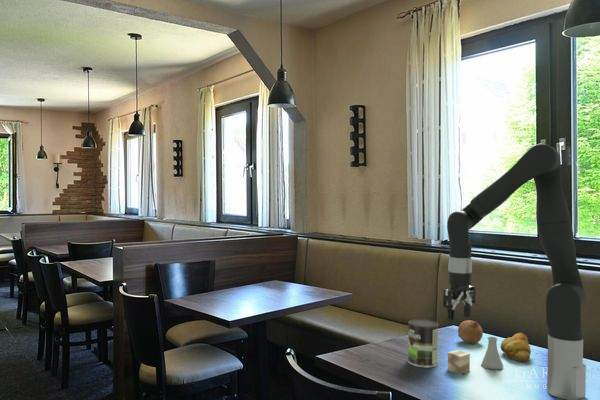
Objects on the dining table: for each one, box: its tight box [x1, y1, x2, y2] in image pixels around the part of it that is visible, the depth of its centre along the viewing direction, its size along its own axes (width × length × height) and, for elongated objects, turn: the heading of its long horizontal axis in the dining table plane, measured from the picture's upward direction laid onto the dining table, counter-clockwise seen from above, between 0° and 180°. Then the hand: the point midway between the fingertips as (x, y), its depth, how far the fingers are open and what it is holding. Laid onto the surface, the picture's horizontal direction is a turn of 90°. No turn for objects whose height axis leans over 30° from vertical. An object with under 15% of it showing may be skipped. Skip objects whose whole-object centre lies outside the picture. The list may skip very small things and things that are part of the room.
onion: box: [457, 319, 484, 345], centre depth 195 cm, size 10×9×10 cm
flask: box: [481, 336, 504, 370], centre depth 169 cm, size 7×7×10 cm
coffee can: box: [407, 318, 439, 369], centre depth 172 cm, size 10×10×14 cm
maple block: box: [447, 349, 471, 375], centre depth 164 cm, size 5×5×6 cm
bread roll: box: [500, 332, 532, 362], centre depth 178 cm, size 13×10×8 cm
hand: (459, 318), depth 164 cm, fingers open, 8 cm apart
